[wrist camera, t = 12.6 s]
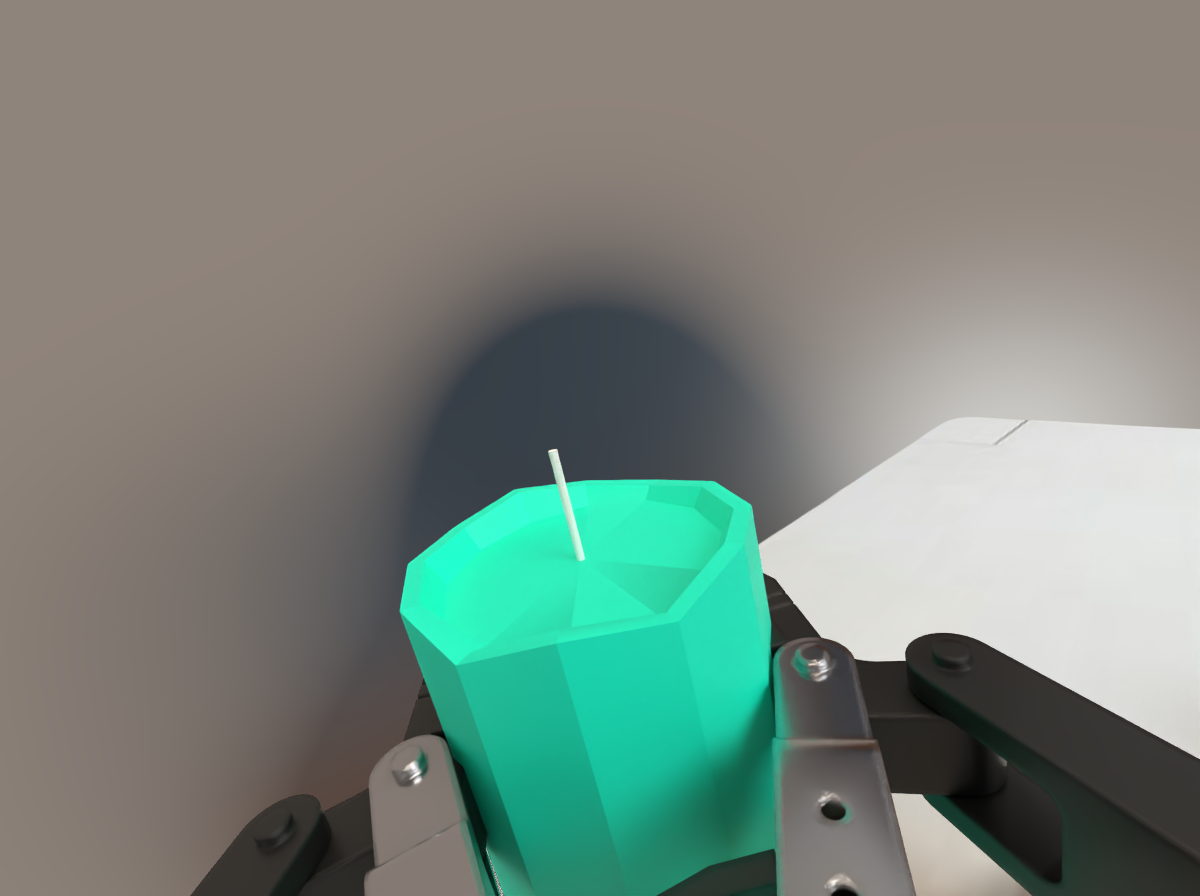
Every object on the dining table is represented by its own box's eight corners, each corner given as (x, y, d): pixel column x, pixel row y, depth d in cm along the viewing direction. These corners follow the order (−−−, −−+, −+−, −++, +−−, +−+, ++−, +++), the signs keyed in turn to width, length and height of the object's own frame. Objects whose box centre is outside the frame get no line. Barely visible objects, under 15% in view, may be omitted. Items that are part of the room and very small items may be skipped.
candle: (515, 931, 14) (348, 477, 11) (709, 795, 17) (619, 388, 13) (644, 1273, 9) (396, 594, 6) (901, 1001, 11) (829, 413, 8)
